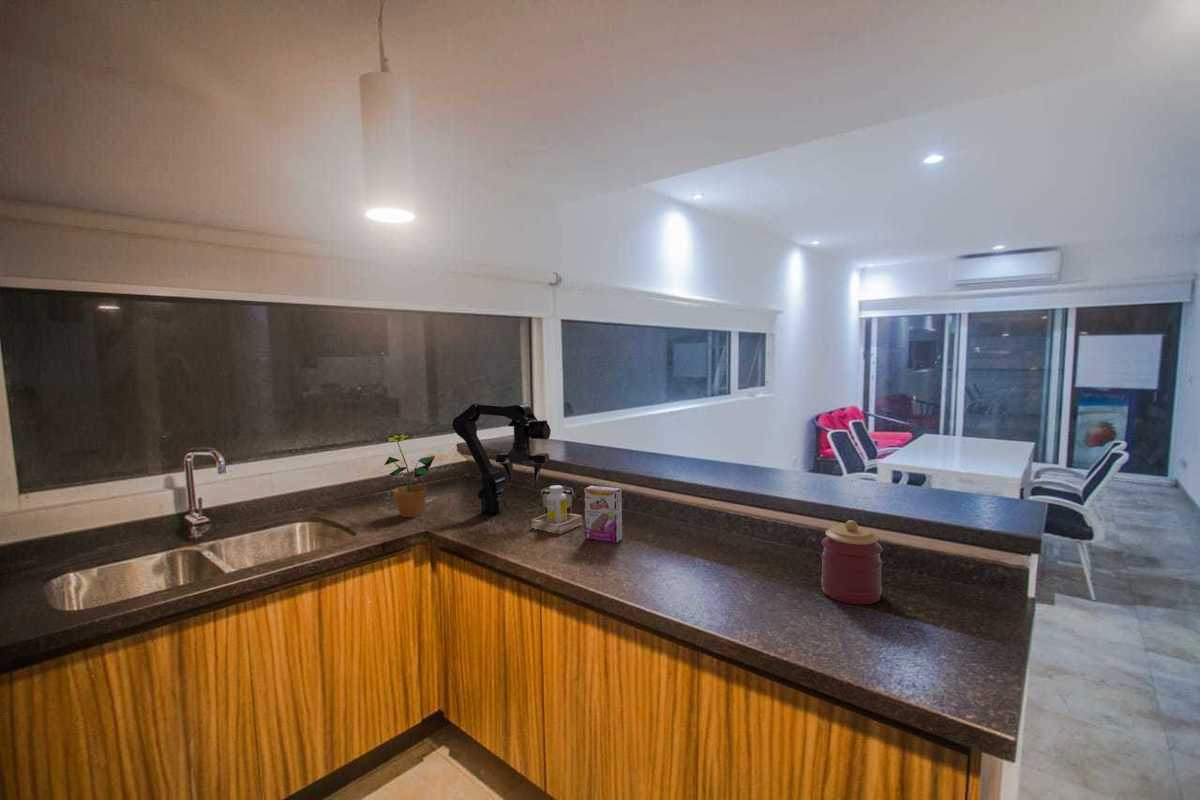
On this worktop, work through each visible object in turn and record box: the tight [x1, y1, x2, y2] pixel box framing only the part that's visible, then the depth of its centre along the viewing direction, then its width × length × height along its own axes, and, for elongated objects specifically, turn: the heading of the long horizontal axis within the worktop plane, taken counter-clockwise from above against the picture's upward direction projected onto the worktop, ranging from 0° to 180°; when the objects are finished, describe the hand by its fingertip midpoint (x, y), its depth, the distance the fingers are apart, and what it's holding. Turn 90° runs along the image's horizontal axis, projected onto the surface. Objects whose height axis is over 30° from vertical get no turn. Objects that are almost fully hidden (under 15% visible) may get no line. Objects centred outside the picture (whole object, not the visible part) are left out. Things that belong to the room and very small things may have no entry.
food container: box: [540, 486, 575, 515], centre depth 196 cm, size 12×6×10 cm, turn 84°
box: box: [530, 513, 584, 535], centre depth 183 cm, size 12×12×3 cm
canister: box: [820, 519, 883, 605], centre depth 126 cm, size 13×13×18 cm
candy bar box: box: [583, 485, 623, 544], centre depth 168 cm, size 11×5×16 cm, turn 65°
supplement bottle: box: [547, 484, 567, 524], centre depth 182 cm, size 7×7×13 cm
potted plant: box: [384, 433, 436, 519], centre depth 199 cm, size 18×19×30 cm
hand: (523, 481), depth 194 cm, fingers open, 9 cm apart
